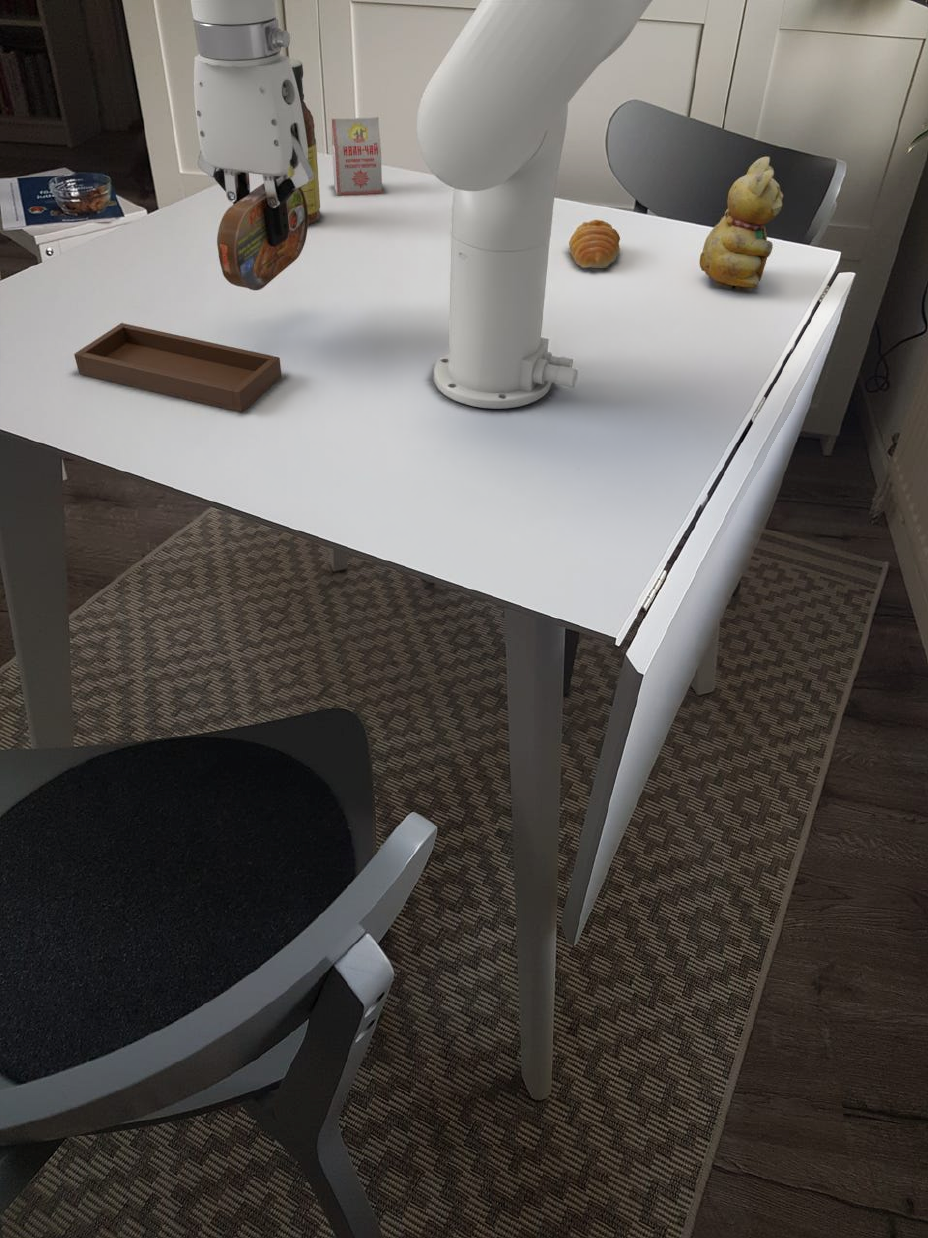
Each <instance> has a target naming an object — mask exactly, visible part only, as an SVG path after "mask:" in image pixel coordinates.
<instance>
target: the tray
mask: <svg viewBox="0 0 928 1238" xmlns="http://www.w3.org/2000/svg"><path fill="white" fill-rule="evenodd" d="M73 356H74V359H75V363H76V367H77V371H78V374H79V375H82V376H85V377H89V378H90V377H91V378H93V379H94V378H95V379H97V380H98V379H99V380H103V381H105V382H106V381H107V382H111V383H115V384H119V385H123V386H128V387H132V388H137V389H140V390H144V391H148V392H152V393H153V392H154V393H156V394H157V393H159V394H162V395H166V396H171V397H174V398H178V399H183V400H188V401H191V402H195V403H199V404H204V405H208V406H212V407H217V408H221V409H224V410H229V411H232V412H233V411H234V412H237V413H244V412H245V411H246V410H247V409H248V408H249V407H250V406H251V405H253V404H254V403H255V402H256V401H257V400H258V399H259V398H261V396H263V395H264V394H265V393H266V392H267V391H269V389H271V388H272V387H273V386H274V385H275V384H277V383H278V381H279V380H281V379H282V377H283V376H282V366H281V365H282V364H281V358H280V357H279V356H275V355H270V354H265V353H260V352H257V351H253V350H247V349H244V348H238V347H234V346H229V345H225V344H220V343H215V342H212V341H206V340H202V339H198V338H192V337H188V336H183V335H179V334H174V333H169V332H165V331H161V330H156V329H152V328H147V327H143V326H138V325H134V324H128V323H125V322H120V323H119V324H118V325H116V326H115V327H113V328H111V329H110V330H109V331H107V332H106V333H104V334H102V335H101V336H99V337H97V338H96V339H95V340H93V341H91V342H90V343H88V344H87V345H85V346H84V347H83V348H81V349H79V350H78V351H76V352H75V353H74V355H73Z"/></svg>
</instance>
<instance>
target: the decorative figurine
mask: <svg viewBox="0 0 928 1238" xmlns="http://www.w3.org/2000/svg"><path fill="white" fill-rule="evenodd" d="M770 161H771V157H770V156H763V157H760V158H758V159H757V160H755V161H754V162H753V163H752V164H751V165H749V168H748V169H747V172H746V174H745V175H743V176H741V177H739V178H738V179H736V180H735V181H734V182H733V184H732V185H731V187H730V188H729V191H728V195H727V201H726V202H727V209H726V210H725V212H724V216H722V217H721V219H720V221H719V222H718V223H717V224H715V226H713V228H712V230H711V231H710V232H709V234H708V235H707V237H706V239H705V241H704V244H703V247H702V252H701V253H700V255H699V267H700V269H701V271H702V272H704V273H705V275H706V276H707V277H708V278H709V279H710V280H714V285H713V286H714V288H718V289H725V290H734V291H736V292H744V293H752V292H753V289H754V288H756V287H757V285H758V284H759V282H761V280H762V277H763V274H764V270H765V266H766V264H767V260H768V258H769V257H770V256H771V254H772V251H773V248H774V247H773V246H774V245H773V241H770V240H768V236H767V230H766V226H765V224H767V223H769V222H771V221H772V220H773V219H774V218H775V217H777V215H779V214H780V213H781V211H782V208H783V199H784V194H783V192H782V191H781V186H780V184H779V183H778V182H777V181H776V179H775V177H774V176H775V171H774V168H773V167H772V166H771V165H770Z"/></svg>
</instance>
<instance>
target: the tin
mask: <svg viewBox="0 0 928 1238" xmlns="http://www.w3.org/2000/svg"><path fill="white" fill-rule="evenodd" d="M286 204H287V212H288V221H289V233H288V238H287V239H286V240H284V241H283V242H282V243H280V244H279V245H277V246H276V247H273V246H270V245H269V244H268V240H267V232H266V224H265V217H264V208H265V207H266V206H268V202H267V197H266V191H265V186H264V182H263V183H261V184H259V186H257V187H256V188H255V189H253V190H252V191H250V193H249V194H248V195H246V196H245V197H244V198H242V199H241V200H239V201H238V202H237V203H235V204H234V205H233V204H232V205H230V207H228V208H227V209H226V211H225V212H224V214H223V216H222V218H221V220H220V223H219V226H218V231H217V236H216V246H217V251H218V259H219V264H220V265H219V266H220V268H221V273H222V276H223V277H224V278H225V280H226V281H227V282H228V283H230V284H231V285H233V286H236V287H238V288H239V287H240V288H246V289H249V290H251V291H260V290H262V289H264V288H265V287H266V286H267V285H268V284H269V283H270V282H272V281H273V280H274V279H275V278H277V277H278V276H279V275H280V274H281V273H282V272H283V271H285V270H286V269H287V268H288V267H290V265H293V263H294V262H296V260H297V259H298V258H299V257H300V255H301V254H302V252H303V249H304V247H305V244H306V240H307V236H308V230H309V229H308V228H309V224H308V209H307V203H306V198H305V195H304V193H303V191H302V189H301V187H299V188H297V189H296V190H295V191H294V193H293V194H292V195H291V197H290V199H288V200H287V201H286Z"/></svg>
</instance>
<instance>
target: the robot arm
mask: <svg viewBox="0 0 928 1238" xmlns="http://www.w3.org/2000/svg"><path fill="white" fill-rule="evenodd" d="M275 2H276V1H275V0H190V7H191V13H192V19H193V25H194V26H193V27H194V32H195V38H196V44H197V45H196V46H197V50H198V54H197V55H196V56H195V57H194V65H193V68H194V69H193V92H194V93H193V94H194V95H193V96H194V105H195V106H194V107H195V118H196V127H197V134H198V140H199V145H200V146H199V147H200V151H199V156H198V160H197V167H198V169H199V170H201V171H202V172H203V173H205V174H207V175H208V176H209V177H211V178H213V179H214V180H215V182H216V183H217V184H218V185H219V186H220V187H221V189H222V190H223V191H224V192H225V195H226V198H227V200H228V201H229V202H231V203H232V205H234V204H235V203H237V202H238V201H239V200H241V199H242V198H244V197H245V196H246V195H248V194H249V193H251V184H250V174H255V175H261V176H262V180H263V183H264V186H265V191H266V197H267V202H268V206H266V207H265V208H264V217H265V224H266V232H267V240H268V244H269V245H270V246H273V247H276V246H277V245H279V244H280V243H282V242H283V241H284V240H286V239H287V238H288V233H289V221H288V212H287V204H286V201H287V200H288V199H290V197H291V195H292V194H293V193H294V191H295V190H296V189H297V188H299V187H302V186H304V185H306V184H307V183H309V182H311V181H312V180H313V179H314V173H313V171H312V169H311V167H310V165H309V163H308V161H307V160H308V146H307V138H306V131H305V124H304V118H303V112H302V107H301V102H300V97H299V92H298V88H297V84H296V80H295V77H294V73H293V70H292V67H291V63H290V60H289V59H290V57H289V56H287V55H283V54H282V55H281V51H282V48H288V47H289V46H290V43H291V37H290V33H289V31H288V30H283V29H281V28H280V27H279V26H280V25H279V20H278V19H277V11H276V3H275ZM652 2H653V0H480V2H479V4H478V5H477V6H476V9H475V10H474V12H473V13H472V15H471V16H470V18H469V19H468V21H467V22H466V24H465V26H464V27H463V29H462V31H460V33H459V35H458V36H457V38H456V39H455V41H454V43H453V44H452V46H451V47H450V49H449V50H448V52H447V53H446V55H445V56H444V58H443V60H442V61H441V62H440V64H439V66H438V67H437V69H436V70H435V71H434V74H433V75H432V77H431V79H430V80H429V82H428V84H427V86H426V88H425V90H424V91H423V94H422V96H421V98H420V102H419V105H418V110H417V116H416V140H417V145H418V148H419V151H420V154H421V156H422V159H423V161H424V163H425V165H426V166H427V168H428V170H430V172H431V173H432V174H433V175H434V176H435V178H437V179H438V180H439V181H440V182H442V183H444V185H447V186H449V187H450V188H453V193H452V205H451V230H450V231H451V232H450V269H449V270H450V273H449V274H450V275H449V277H450V280H449V282H450V283H449V318H448V319H449V320H448V321H449V323H448V325H449V326H448V328H449V329H448V333H449V334H448V352H447V353H445V354H444V355H442V356H441V357H439V358H438V360H437V361H436V362H435V364H434V366H433V382H434V385H435V386H436V388H437V390H438V391H440V392H441V393H442V394H443V395H444V396H446V397H448V398H449V399H451V400H453V401H455V402H457V403H460V404H463V405H466V406H470V407H476V408H481V409H490V410H491V409H492V410H501V409H513V408H519V407H522V406H527V405H529V404H532V403H534V402H537V401H538V400H540V399H541V398H543V397H544V396H546V395H547V394H548V393H549V390H550V389H551V388H552V384H556V385H557V386H562V387H567V388H571V389H575V386H576V384H577V380H578V376H579V369H578V368H576V367H575V368H574V367H573V364H574V359H573V358H570V357H564V356H557V355H553V353H552V352H550V351H549V342H550V341H549V340H550V339H549V338H546V337H542V332H543V320H544V310H545V309H544V308H545V298H546V286H547V276H548V275H547V274H548V265H549V253H550V242H551V235H552V223H553V215H554V205H555V204H554V203H555V197H556V196H555V195H556V186H557V181H558V176H559V175H558V174H559V169H560V164H561V158H562V152H563V147H564V142H565V137H566V131H567V122H568V113H569V103H570V102H571V100H572V99H573V97H575V95H576V94H577V93H578V92H579V90H580V89H581V88H582V87H583V85H584V83H586V81H587V80H588V78H589V77H591V75H592V74H593V73H594V71H595V70H596V69H597V68H598V67H599V66H600V65H601V64H602V63H603V62H604V61H606V60H607V59H608V58H609V57H610V56H612V55H613V54H614V53H615V52H616V51H617V50H618V49H619V48H621V46H622V45H623V44H624V43H625V41H626V40H627V39H628V38H629V37H630V35H631V33H632V32H633V30H634V28H635V27H636V25H637V24H638V22H639V21H640V19H641V18H642V16H643V15H644V13H645V12H646V10H647V9H648V7H649V6H650V4H651V3H652ZM290 165H291V166H292V168H293V170H294V174H293V176H290V177H289V178H288V175H287V173H288V172H289V170H290Z"/></svg>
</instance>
